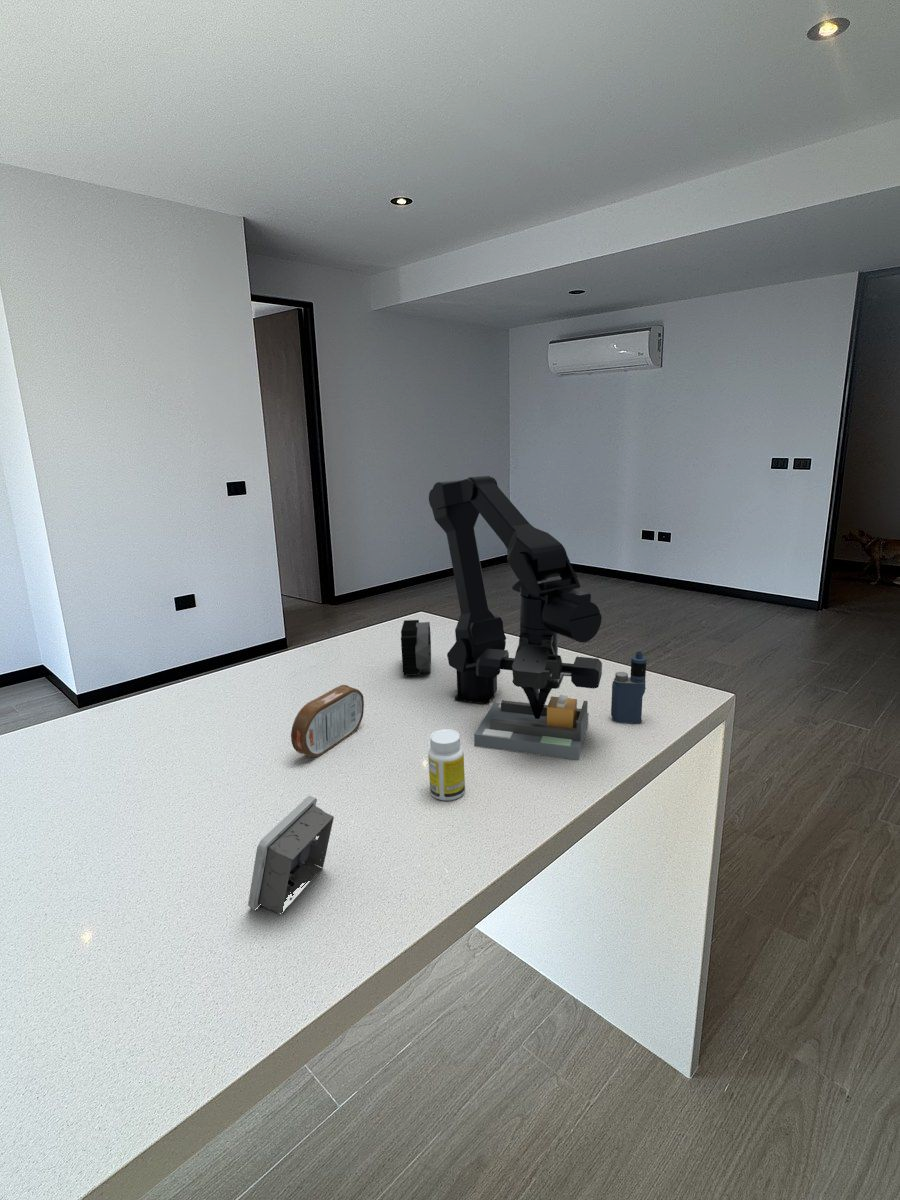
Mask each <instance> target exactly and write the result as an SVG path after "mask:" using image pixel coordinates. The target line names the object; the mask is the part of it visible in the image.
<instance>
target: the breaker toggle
mask: <svg viewBox="0 0 900 1200" xmlns="http://www.w3.org/2000/svg"><path fill="white" fill-rule="evenodd" d="M547 705H548V706H547V725H550V726H558V727H566V728H575V725H576V717H577V708H578V706H577V705H578V699H577V698H571V697H569V698H568V695H566V694H559V696H551V697H550V700H549V701H548V704H547Z"/></svg>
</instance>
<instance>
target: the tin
mask: <svg viewBox="0 0 900 1200" xmlns="http://www.w3.org/2000/svg"><path fill="white" fill-rule="evenodd" d="M364 708H365V701H364V695H363V693H362V692H361V690H359V689H357V688H354V687H352V686H349V685H347V684H341V685H338V686H336V687H334V688H332V689H331V690H329V691H328V692H325V693H324V694H322V695H319V696H318V697H316V698H314V699H313V700H310V701H308V702H307V703H306V704H304V705H303V706H302V707H301V709H300V710H299V711H298V712H297V714H296V716H295V718H294V721H293V723H292V727H291V731H290V742H291V745H292V747H293V749H294V750H295V751H296V753H299V754H304V755H306V756H308V757H312V758H313V757H319V756H322V755H323V754H325V753H326V752H328V751H329V750H331V749H332V748H334V747H336V746H337V745H339V744H340V743H341V742H343V741H344V740H346V739H347V738H348V737H351V736H352V735H354V733H355V732H356V730H358V728H359V726H360V724H361V722H362V720H363V717H364V710H365V709H364Z"/></svg>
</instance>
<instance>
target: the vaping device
mask: <svg viewBox="0 0 900 1200" xmlns="http://www.w3.org/2000/svg"><path fill="white" fill-rule="evenodd" d="M643 654H644V653H643V652H642V651H638V650H637V651H636V652H635V655H632V656H631V659H630V660H631V661H630V662H631V663H630V676H629V674H628V672H625V671H617V672H615V676H614V678H613V681H612V685H611V686H612V687H611V703H610V705H611V708H610V712H611V713H610V715H611V718H612V720H613V722H615V723H618V722H619V723H623V724H642V722H643V721H642V720H643V719H642V716H643V715H642V713H643V709H642V708H643V696H644V695H645V693H646V689H647V688H646V682H647V681H646V676H647V674H646V673H647V657H646V656H644V655H643Z"/></svg>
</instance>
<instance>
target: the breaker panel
mask: <svg viewBox="0 0 900 1200" xmlns="http://www.w3.org/2000/svg"><path fill="white" fill-rule="evenodd" d="M588 705H589V704H588V700H583V702H582V705H581V708H578V707H577V717H576V725H575V728H566V727H558V726H550V725H547V706H548V704H545V705H544V708H543V711H542V714H541V716H540V719H535V717H534V714H533V711H532V708H531V706H530V703H529V702H523V701H521V702H520V701H512V700H503V699H502V700H501V702H493V703H492V704H491V706H490V708H489V709H488V711H487V712H486V714H485V716H484V718H483V719H482V721H481V722H480V723H479V726H478V727H477V729H476V731H475V732H474V733H473V737H474V738H473V742H474V744H473V745H474V747H480V748H485V749H486V748H487V749H494V750H502V751H510V752H514V753H515V752H516V753H522V754H523V753H524V754H530V755H538V756H539V755H540V756H545V757H546V756H547V757H553V758H559V759H561V758H562V759H567V760H573V761H574V760H575V761H579V760H580V757H581V753H582V749H583V746H582V745H583V744H584V741H585V737H586V733H587V729H588V725H589V716H590V715H589V712H588Z"/></svg>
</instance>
